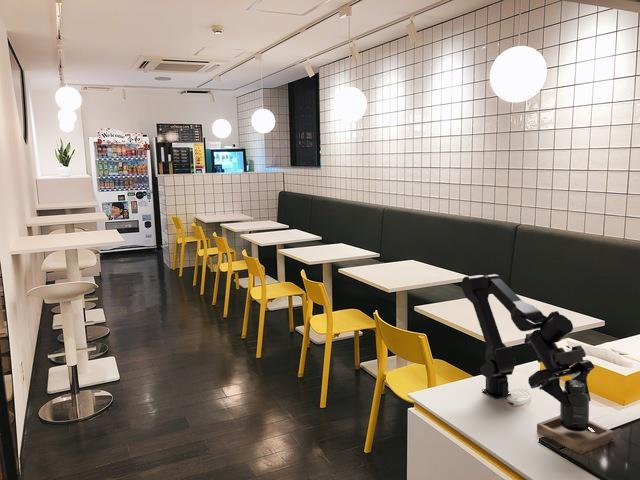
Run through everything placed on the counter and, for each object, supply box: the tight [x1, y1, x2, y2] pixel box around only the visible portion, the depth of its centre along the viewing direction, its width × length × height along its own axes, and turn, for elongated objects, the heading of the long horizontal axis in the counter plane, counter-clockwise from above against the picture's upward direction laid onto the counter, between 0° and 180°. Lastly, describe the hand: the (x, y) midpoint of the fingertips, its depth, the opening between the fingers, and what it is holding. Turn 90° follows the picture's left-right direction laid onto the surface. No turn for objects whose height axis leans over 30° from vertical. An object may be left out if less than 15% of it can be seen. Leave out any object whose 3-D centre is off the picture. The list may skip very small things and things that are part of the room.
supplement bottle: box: [559, 379, 590, 432], centre depth 135 cm, size 7×7×12 cm
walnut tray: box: [536, 414, 615, 455], centre depth 136 cm, size 13×13×2 cm
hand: (579, 404), depth 133 cm, fingers open, 7 cm apart
